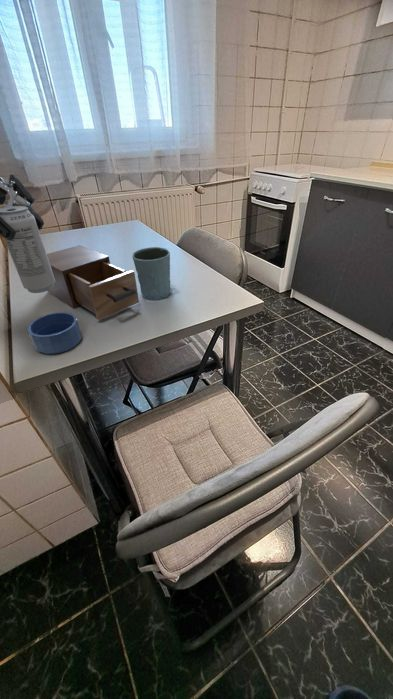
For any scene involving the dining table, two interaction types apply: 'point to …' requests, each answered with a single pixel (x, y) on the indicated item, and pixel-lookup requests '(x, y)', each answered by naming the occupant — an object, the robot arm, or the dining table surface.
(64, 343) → the bowl
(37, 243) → the energy drink can
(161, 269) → the blue ceramic cup
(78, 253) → the cabinet
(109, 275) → the drawer
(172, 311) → the dining table surface
